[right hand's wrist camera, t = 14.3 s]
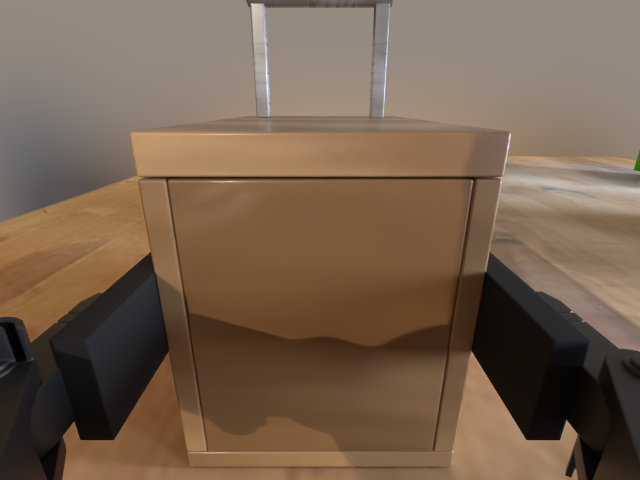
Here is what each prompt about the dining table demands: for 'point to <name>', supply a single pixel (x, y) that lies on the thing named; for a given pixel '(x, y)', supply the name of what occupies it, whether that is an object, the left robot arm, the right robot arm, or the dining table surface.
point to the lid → (320, 130)
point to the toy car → (637, 163)
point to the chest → (320, 313)
